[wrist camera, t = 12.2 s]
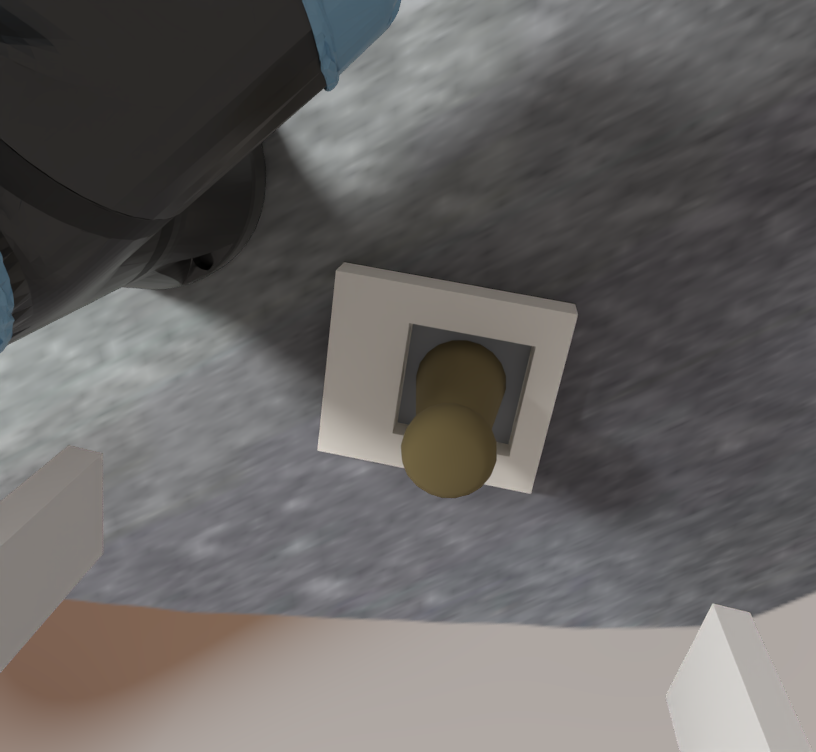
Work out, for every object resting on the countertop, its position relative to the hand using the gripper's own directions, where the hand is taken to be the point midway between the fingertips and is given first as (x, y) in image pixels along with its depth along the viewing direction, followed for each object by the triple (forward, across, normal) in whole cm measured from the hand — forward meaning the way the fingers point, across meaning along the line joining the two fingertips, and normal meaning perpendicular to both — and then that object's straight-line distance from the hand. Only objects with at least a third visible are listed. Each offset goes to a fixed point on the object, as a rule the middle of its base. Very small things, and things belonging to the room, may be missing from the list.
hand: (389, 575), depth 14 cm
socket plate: (+30, 0, -9) cm, 31 cm away
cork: (+30, +2, -8) cm, 31 cm away
